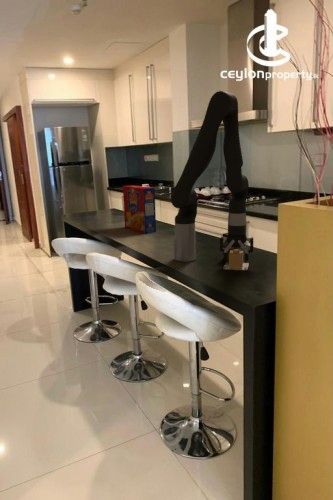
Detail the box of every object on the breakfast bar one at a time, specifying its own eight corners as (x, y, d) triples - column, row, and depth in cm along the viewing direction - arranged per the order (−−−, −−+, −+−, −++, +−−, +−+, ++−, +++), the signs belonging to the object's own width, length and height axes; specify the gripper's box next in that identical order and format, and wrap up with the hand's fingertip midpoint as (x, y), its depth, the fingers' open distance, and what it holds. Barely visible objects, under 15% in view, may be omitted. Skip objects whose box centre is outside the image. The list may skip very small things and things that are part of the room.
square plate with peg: (223, 269, 163) (223, 259, 162) (225, 263, 172) (225, 253, 171) (247, 270, 160) (247, 260, 159) (248, 264, 169) (249, 254, 168)
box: (230, 256, 183) (231, 231, 180) (238, 258, 179) (238, 232, 176) (221, 258, 179) (222, 233, 176) (229, 260, 176) (229, 234, 173)
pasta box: (124, 227, 263) (122, 186, 256) (135, 226, 267) (133, 185, 260) (145, 234, 240) (143, 188, 233) (156, 232, 244) (154, 187, 237)
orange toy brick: (228, 267, 164) (228, 251, 162) (230, 263, 169) (230, 248, 168) (242, 268, 163) (242, 251, 161) (243, 264, 168) (243, 248, 166)
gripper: (218, 224, 160) (218, 262, 164) (254, 225, 156) (252, 264, 160) (220, 221, 167) (220, 258, 171) (254, 222, 163) (253, 259, 167)
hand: (236, 261), depth 165 cm, fingers open, 7 cm apart
